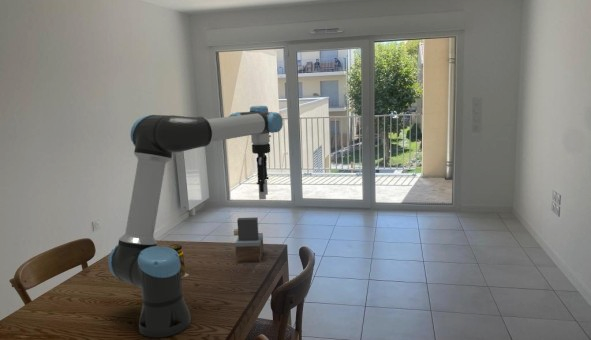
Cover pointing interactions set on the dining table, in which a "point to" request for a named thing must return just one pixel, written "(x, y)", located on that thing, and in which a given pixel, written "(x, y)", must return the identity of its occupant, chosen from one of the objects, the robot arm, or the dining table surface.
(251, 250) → the open wooden box
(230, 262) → the dining table surface
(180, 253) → the condiment
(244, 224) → the grey slotted stand
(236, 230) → the key
